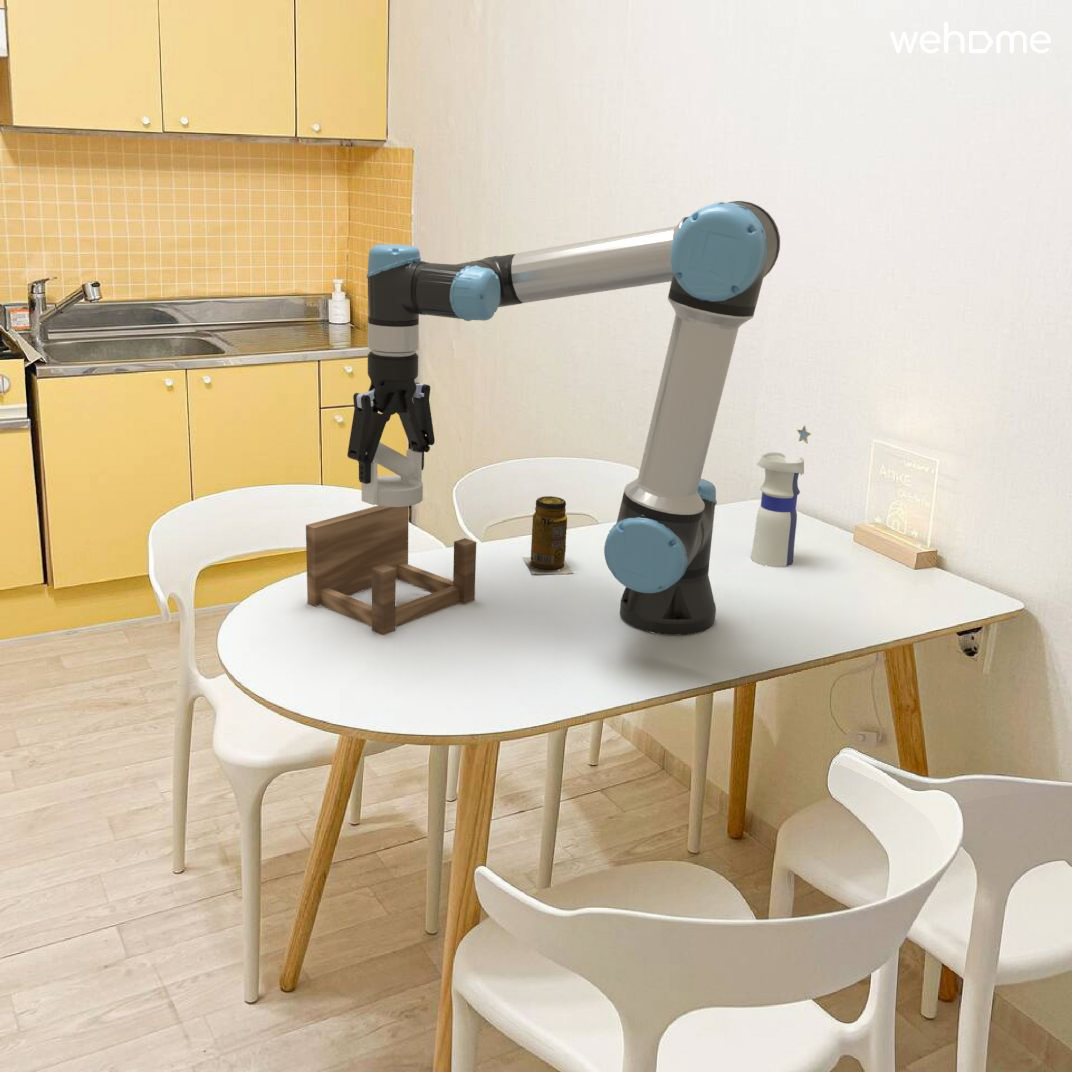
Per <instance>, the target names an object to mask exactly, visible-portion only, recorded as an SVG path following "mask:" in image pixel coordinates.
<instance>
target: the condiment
mask: <svg viewBox="0 0 1072 1072" xmlns="http://www.w3.org/2000/svg"><path fill="white" fill-rule="evenodd" d="M566 506H567V503H566V500H565V499H564V498H561V497H559V496H553V495H552V496H551V495H549V496H548V495H547V496H545V495H543V496H541V497H538V498H537V499H536V500H535V507H534V509H535V510H534V511H535V512H534V513H533V515H532V526H531V527H532V528H531V543H530V544H531V547H530V557H529V556H526V557H522V559H523V561H524V563H525V564H526V566H527V567H528V568H529V571H530V572H531V574H532V575H567V574H574V572H573V570H572V568H571V567H570V566H569V565H568V562H566V560H565V559H566V551H567V550H566V549H567V545H566V544H567V529H568V527H567V526H568V525H567V524H568V516H567V514H566V510H567V508H566Z"/></svg>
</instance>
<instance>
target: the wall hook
mask: <svg viewBox="0 0 1072 1072" xmlns="http://www.w3.org/2000/svg"><path fill="white" fill-rule="evenodd" d="M366 454H367V452H366ZM373 462H376V463H377V465H380V466H381V467H382V468H385V469H387V470H389V471H391V472H392V473H394V474H396V475H393V474H392V475H391V474H389V475H379V476H377V504H376V505H375V506H378V505H379V506H386V507H405V506H409V507H411V506H414V505H417V504H420V503H421V502H422V501H423V499H424V498H423V494H424V492H423V491H424V490H423V489H424V487H423V486H424V484H423V481H422V480H421V481H420V480H419V479H416V478H413V477H412V476H413V475H414V473H415V471H416V465H415V463H414V462H413V461H412V460H411V459H409V458H407V457H406V455H404V454H402V453H400V452H399V451H397V450H395V449H394V448H391V447H390V446H388V445H386V444H384V443H382V442H381V441H380V442H379V445H378V448H377V451H376V454H375V457H374V459H373Z"/></svg>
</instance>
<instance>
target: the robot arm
mask: <svg viewBox="0 0 1072 1072" xmlns="http://www.w3.org/2000/svg"><path fill="white" fill-rule="evenodd" d="M780 250H781V235H780V231H779V227H778V225H777V224H776V221H775V219H773V217H772V215H770V213H769V212H768V211H767V210H765V208H763V207H761V206H760V205H759V204H755V203H753V202H749V201H743V200H734V201H729V202H723V201H720V202H714V203H710V204H706V205H705V206H702V207H700V208H699V209H698V210H696V211H693V213H691V214H690V215H689V216H685V217H682V218H681V219H680V221H679V223H677V225H676V226H668V227H664V228H659V229H652V230H646V231H641V232H634V233H629V234H622V235H616V236H611V237H605V238H600V239H593V240H588V241H581V242H576V243H568V244H564V245H558V246H551V247H547V248H540V249H539V248H538V249H534V250H529V251H523V252H522V251H521V252H517V253H511V254H505V255H495V256H489V257H485V258H482V259H478V260H477V259H476V260H471V261H466V262H461V263H455V264H454V263H453V264H449V263H435V262H434V263H432V262H426V261H424V260H421V259H422V257H421V252H420V249H419V248H418V247H417V246H413V245H408V244H393V243H391V244H389V243H388V244H386V243H385V244H378V245H377V244H376V245H373V246H372V247H371V248H370V249H369V252H368V259H367V261H368V262H367V273H366V279H367V312H368V313H367V314H368V315H367V348H368V349H369V350H370V351H369V352H368V353H367V375H368V378H369V379H370V385H369V388H368V391H366V392H363V393H359V392H355V393H354V394H353V395H352V396H353V397H352V399H353V408H354V410H353V416H352V417H353V418H352V424H351V429H350V435H349V442H348V447H347V458H349V459H351V460H355V461H357V462H358V481H359V483H361V501H362V502H363V503H367V504H370V505H372V506H377V505H376V504H377V477H378V463H376V462H374V461H373V459H374V457H375V454H376V451H377V448H378V445H379V442H381V438H382V436H383V433H384V429H385V428H386V424H387V423H388V422H389V421H390V420H391V417H392V415H395V414H397V415H398V416H399V419H400V422H401V425H402V428H403V431H404V433H405V435H406V438H407V441H408V443H409V447H410V448H409V449H406V455H405V456H406V457H407V458H409V459H411V460H412V461H413V462H414V463H415V465H416V471H415V473H414V475H413V476H412V477H413V478H416V479H419V480H420V481H422V473H423V472H422V471H423V470H424V468H425V453H429V452H430V450H431V447H430V446H433V445H435V440H436V439H435V433H434V425H433V418H432V412H431V410H432V409H431V403H430V395H431V385H429V384H425V383H421V382H415V381H416V379H417V377H418V376H419V355H418V354H417V353H416V352H417V351H418V350H419V344H420V343H419V342H420V341H419V339H420V338H419V337H420V335H419V334H420V333H419V330H420V327H419V324H420V323H419V322H420V321H419V320H420V319H419V317H420V315H421V316H422V315H423V316H434V317H435V316H436V317H442V318H450V319H451V318H452V319H458V320H459V319H460V320H464V321H466V322H470V321H489V320H491V319H492V318H493V317H494V315H495V313H496V312H497V311H498V308H503V307H510V306H515V305H522V304H527V303H533V302H540V301H548V300H555V299H562V298H568V297H574V296H580V295H581V296H582V295H588V294H594V293H595V294H596V293H600V292H601V293H602V292H607V291H616V290H621V289H623V290H624V289H629V288H637V287H643V286H649V285H655V284H656V285H657V284H663V283H669V282H671V283H670V285H669V286H670V288H669V290H668V291H669V292H668V296H667V301H668V302H669V303H670V305H671V307H672V309H673V310H674V313H675V316H674V320H673V324H672V325H673V326H672V329H671V334H670V338H669V342H668V346H667V351H666V356H665V359H664V363H663V366H662V367H663V368H662V372H661V376H660V381H659V386H658V390H657V395H656V399H655V403H654V407H653V412H652V415H651V420H650V424H649V427H648V428H649V429H648V433H647V436H646V437H647V438H646V442H645V446H644V451H643V454H642V459H641V464H640V467H639V468H640V469H639V472H638V477H637V478H636V479H634V480H633V481H631V482H629V483H627V484H626V485H625V487H624V489H623V494H622V498H621V502H620V508H619V511H618V516H617V520H616V523H615V524H614V525H613V526H612V528H611V529H610V530H609V532H608V534H607V535H606V539H605V541H604V547H603V549H604V550H603V551H604V552H603V553H604V559H605V563H606V566H607V569H608V570H609V571H610V573H611V574H612V576H613V577H614V578H615V579H616V580H617V581H618V582H619V583H620V584H621V585H623V586H624V587H625V589H624V591H623V593H622V596H621V598H620V602H619V603H620V604H619V616H620V618H621V619H622V620H623V621H624V622H625V623H627V625H629V626H631V627H634V628H635V629H639V630H640V631H644V632H648V633H652V634H658V635H666V636H687V635H688V636H689V635H696V634H700V633H703V632H706V631H708V630H709V629H711V628H712V627H713V626H714V625H715V622H716V614H717V606H716V603H715V598H714V594H713V589H712V585H711V581H710V577H709V570H710V569H709V568H710V559H711V550H712V540H713V531H714V521H715V510H716V509H715V508H716V505H717V502H718V501H717V498H716V497H717V489H716V486H715V485H714V483H713V482H710V481H709V480H708V479H704V478H702V474H703V470H704V467H705V464H706V458H707V454H708V450H709V446H710V444H711V443H710V442H711V439H712V434H713V432H714V427H715V423H716V419H717V416H718V415H717V414H718V411H719V408H720V404H721V399H722V395H723V391H724V387H725V384H726V379H727V376H728V371H729V367H730V363H731V360H732V356H733V352H734V347H735V344H736V340H737V337H738V331H739V328H740V327H741V326H743V324H745V323H747V322H748V321H750V320H752V319H753V318H754V316H755V312H756V311H755V310H756V307H757V303H758V300H759V297H760V292H761V289H762V284H763V281H764V278H766V276H767V275H768V274H770V272H771V271H772V269H773V268H774V266H775V264H776V262H777V260H778V258H779V254H780ZM366 452H367V454H366Z"/></svg>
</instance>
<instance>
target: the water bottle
mask: <svg viewBox="0 0 1072 1072" xmlns="http://www.w3.org/2000/svg"><path fill="white" fill-rule="evenodd" d="M796 431H797V433H798V434H799V439H798V442H801V441H803V442H804V443H806V444H809V443H808V437H809V436H811V435H812V433H811V432H809V431H808V429H807V426H806V424H804V425H803V427H802V429H796ZM756 466H758V467H760V468H762V469H764V475H765V477H764V481H763V483H762V485H761V486H760V489H759V490H760V491H761V500H760V506H759V508H758V510H757V513H756V522H755V529H754V536H753V541H752V542H753V543H752V546H751V547H752V548H751V555H750V560H751V561H752V560H753V561H752V562H754V561H755V562H754V563H756V564H758V565H761V564H763V565H762V566H765V565H767V566H766V567H770V566H771V567H772V568H773V567H774V568H782V567H783V568H786V567H789V565H790V566H792V565H793V564H794V553H795V540H796V533H797V531H796V530H797V524H798V523H797V520H798V513H797V502H798V496H799V495H800V494H801V490H800V489H799V486H798V484H799V483H798V480H799V475H800V476H802V475H803V474H805V459H804V458H803V457H802V456H801V457H799V459H798V460H797V462H787V461H786V455H785V454H784V453H782V452H774V451H772V452H767V453H763V454H762V456H761V457H760V459H758V462H757V463H756ZM771 567H770V568H771Z"/></svg>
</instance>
